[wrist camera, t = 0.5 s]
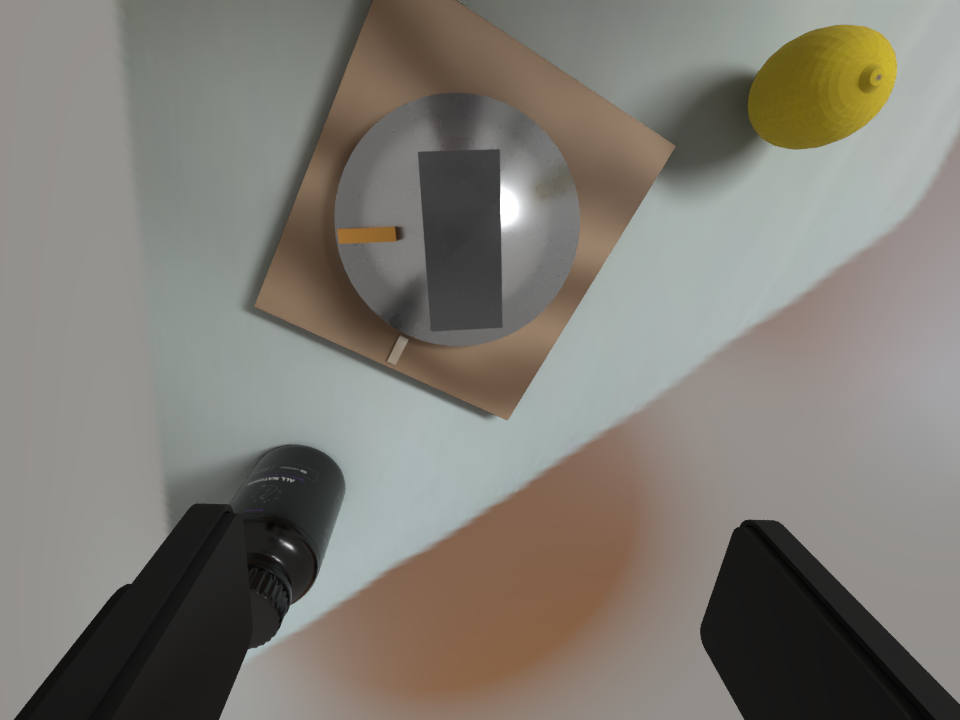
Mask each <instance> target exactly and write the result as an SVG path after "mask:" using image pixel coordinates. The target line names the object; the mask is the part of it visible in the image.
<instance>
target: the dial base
mask: <svg viewBox="0 0 960 720" xmlns="http://www.w3.org/2000/svg"><path fill="white" fill-rule="evenodd" d="M452 92H455V93H472V94H477V95H482V96H487V97H490V98H493V99H496V100H499V101H501V102H504V103H506V104H508V105H510V106H512V107H514V108H516V109H518V110H519V111H521V112H522V113H524V114H525V115H526V116H528V117H529V118H531V119H532V120H533V121H535V122H536V123H537V124H538V125H539V126H540V127H541V128H542V129H543V130H544V131H545V132H546V133H547V134H548V135H549V137H550V138H551V139H552V141H553V142H554V143H555V144H556V146H557V147H558V149H559V150H560V152H561V154H562V155H563V157H564V159H565V161H566V162H567V165H568V167H569V170H570V172H571V174H572V177H573V180H574V183H575V187H576V191H577V195H578V202H579V208H580V231H579V241H578V246H577V250H576V254H575V258H574V261H573V264H572V267H571V269H570V272H569V274H568V276H567V278H566V280H565V282H564V284H563V286H562V288H561V289H560V290H559V292H558V293H557V295H556V296H555V298H554V299H553V300H552V302H551V303H550V304H549V305H548V306H547V307H546V308H545V310H544V311H543V312H541V313H540V314H539V315H538V316H537V317H536V318H535V319H534V320H532V321H531V322H530V323H528V324H527V325H525V326H524V327H522V328H521V329H519V330H517V331H516V332H514V333H512V334H510V335H508V336H506V337H503V338H500V339H498V340H495V341H492V342H488V343H483V344H479V345H471V346H446V345H438V344H433V343H429V342H425V341H422V340H419V339H416V338H414V337H411V336H409V335H407V334H405V333H403V332H401V331H399V330H397V329H396V328H394V327H392V326H391V325H390V324H388V323H387V322H386V321H384V320H383V319H381V318H380V317H379V316H378V315H377V314H376V313H375V312H374V311H373V310H372V309H371V308H370V307H369V306H368V305H367V304H366V303H365V301H364V300H363V299H362V298H361V297H360V295H359V294H358V292H357V291H356V289H355V288H354V286H353V285H352V283H351V281H350V279H349V277H348V275H347V273H346V271H345V269H344V266H343V263H342V260H341V257H340V254H339V251H338V246H337V241H336V235H335V222H334V216H335V201H336V196H337V191H338V185H339V182H340V179H341V176H342V173H343V170H344V168H345V166H346V164H347V162H348V160H349V158H350V156H351V154H352V152H353V151H354V149H355V148H356V146H357V145H358V143H359V142H360V140H361V139H362V138H363V137H364V135H365V134H366V133H367V132H368V131H369V130H370V129H371V128H372V127H373V126H374V125H375V124H376V123H377V122H378V121H380V120H381V119H382V118H383V117H385V116H386V115H387V114H389V113H390V112H392V111H394V110H395V109H397V108H398V107H400V106H402V105H404V104H406V103H409V102H411V101H414V100H416V99H418V98H422V97H426V96H430V95H434V94H442V93H452ZM675 147H676V146H675V145H674V144H672V143H671V142H669V141H668V140H666V139H665V138H663V137H662V136H660V135H659V134H657V133H655V132H654V131H652V130H651V129H649V128H648V127H646V126H645V125H643V124H642V123H640V122H639V121H637V120H636V119H634V118H633V117H631V116H630V115H628V114H627V113H625V112H624V111H622V110H621V109H619V108H618V107H616V106H615V105H613V104H612V103H610V102H609V101H607V100H606V99H604V98H603V97H601V96H600V95H598V94H597V93H595V92H594V91H592V90H591V89H589V88H588V87H586V86H585V85H583V84H582V83H580V82H578V81H577V80H575V79H574V78H572V77H571V76H569V75H568V74H566V73H565V72H563V71H562V70H560V69H559V68H557V67H556V66H554V65H553V64H551V63H550V62H548V61H547V60H545V59H544V58H542V57H541V56H539V55H538V54H536V53H535V52H533V51H532V50H530V49H529V48H527V47H526V46H524V45H523V44H521V43H520V42H518V41H517V40H515V39H514V38H512V37H511V36H509V35H508V34H506V33H505V32H503V31H501V30H500V29H498V28H497V27H495V26H494V25H492V24H491V23H489V22H488V21H486V20H485V19H483V18H482V17H480V16H479V15H477V14H476V13H474V12H473V11H471V10H470V9H468V8H467V7H465V6H464V5H462V4H461V3H459V2H458V1H456V0H373V1H372V3H371V6H370V9H369V11H368V14H367V16H366V19H365V22H364V24H363V27H362V29H361V32H360V34H359V37H358V40H357V42H356V45H355V47H354V50H353V53H352V55H351V58H350V60H349V63H348V65H347V68H346V71H345V73H344V76H343V78H342V81H341V84H340V86H339V89H338V91H337V94H336V97H335V99H334V102H333V104H332V107H331V109H330V112H329V115H328V117H327V120H326V122H325V125H324V128H323V130H322V133H321V135H320V138H319V140H318V143H317V146H316V148H315V151H314V153H313V156H312V159H311V161H310V164H309V166H308V169H307V171H306V174H305V177H304V179H303V182H302V184H301V187H300V190H299V192H298V195H297V197H296V200H295V202H294V205H293V208H292V210H291V213H290V215H289V218H288V221H287V223H286V226H285V228H284V231H283V233H282V236H281V239H280V241H279V244H278V246H277V249H276V252H275V254H274V257H273V259H272V262H271V265H270V267H269V270H268V272H267V275H266V277H265V280H264V283H263V285H262V288H261V290H260V293H259V296H258V298H257V301H256V303H255V306H254V307H256V308H259V309H261V310H263V311H265V312H267V313H270V314H272V315H274V316H276V317H279V318H281V319H283V320H285V321H287V322H290V323H292V324H294V325H296V326H299V327H301V328H303V329H305V330H307V331H310V332H312V333H314V334H316V335H319V336H321V337H323V338H325V339H327V340H330V341H332V342H334V343H336V344H339V345H341V346H343V347H345V348H347V349H350V350H352V351H354V352H356V353H359V354H361V355H363V356H365V357H367V358H370V359H372V360H374V361H376V362H379V363H381V364H383V365H385V366H387V367H390V368H392V369H394V370H396V371H399V372H401V373H403V374H405V375H407V376H410V377H412V378H414V379H416V380H419V381H421V382H423V383H425V384H427V385H430V386H432V387H434V388H436V389H439V390H441V391H443V392H445V393H447V394H450V395H452V396H454V397H456V398H459V399H461V400H463V401H465V402H467V403H470V404H472V405H474V406H476V407H479V408H481V409H483V410H485V411H488V412H490V413H492V414H494V415H496V416H499V417H501V418H503V419H505V420H508V419H509V417H510V416H511V414H512V412H513V411H514V409H515V407H516V406H517V404H518V403H519V401H520V399H521V398H522V396H523V394H524V393H525V391H526V390H527V388H528V386H529V385H530V383H531V381H532V380H533V378H534V376H535V375H536V373H537V372H538V370H539V368H540V367H541V365H542V363H543V362H544V360H545V359H546V357H547V355H548V354H549V352H550V350H551V349H552V347H553V346H554V344H555V342H556V341H557V339H558V337H559V336H560V334H561V332H562V331H563V329H564V328H565V326H566V324H567V323H568V321H569V319H570V318H571V316H572V315H573V313H574V311H575V310H576V308H577V306H578V305H579V303H580V302H581V300H582V298H583V297H584V295H585V293H586V292H587V290H588V288H589V287H590V285H591V284H592V282H593V280H594V279H595V277H596V275H597V274H598V272H599V271H600V269H601V267H602V266H603V264H604V262H605V261H606V259H607V258H608V256H609V254H610V253H611V251H612V249H613V248H614V246H615V245H616V243H617V241H618V240H619V238H620V236H621V235H622V233H623V231H624V230H625V228H626V227H627V225H628V223H629V222H630V220H631V218H632V217H633V215H634V214H635V212H636V210H637V209H638V207H639V205H640V204H641V202H642V201H643V199H644V197H645V196H646V194H647V192H648V191H649V189H650V187H651V186H652V184H653V183H654V181H655V179H656V178H657V176H658V174H659V173H660V171H661V170H662V168H663V166H664V165H665V163H666V161H667V160H668V158H669V157H670V155H671V153H672V152H673V150H674V148H675Z"/></svg>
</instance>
